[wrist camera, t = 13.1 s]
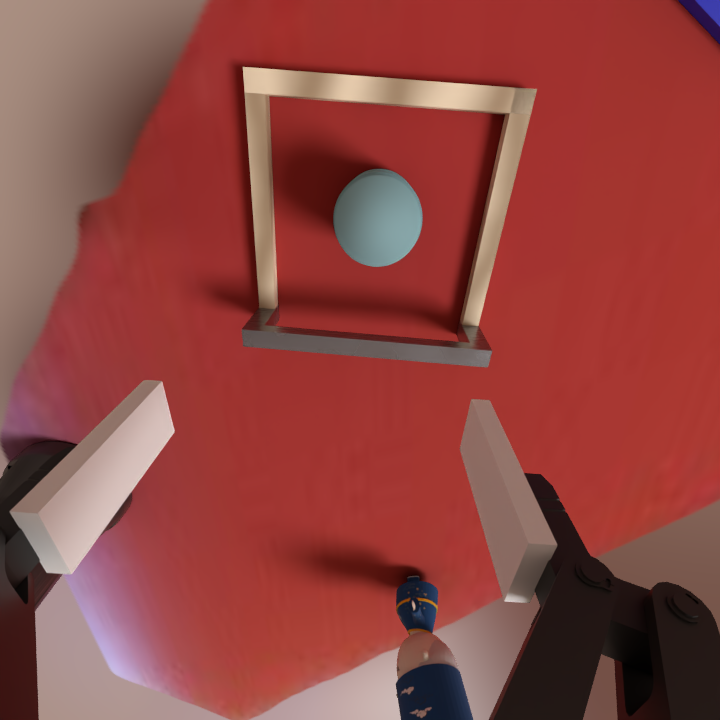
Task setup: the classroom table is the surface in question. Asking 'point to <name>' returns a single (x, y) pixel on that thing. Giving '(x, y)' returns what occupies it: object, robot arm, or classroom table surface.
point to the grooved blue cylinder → (377, 218)
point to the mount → (705, 14)
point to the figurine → (426, 660)
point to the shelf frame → (393, 94)
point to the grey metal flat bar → (366, 342)
